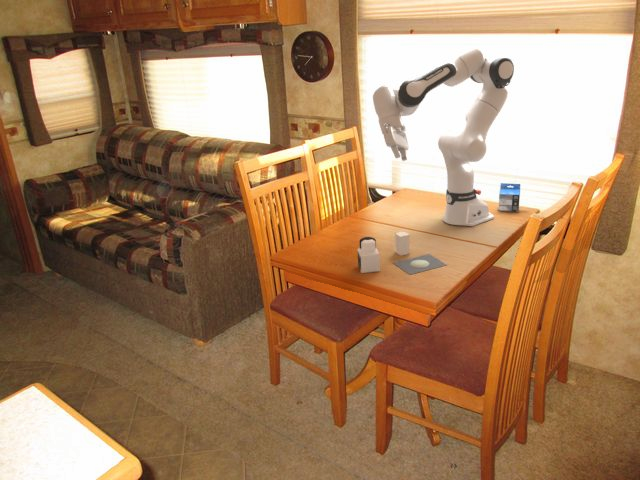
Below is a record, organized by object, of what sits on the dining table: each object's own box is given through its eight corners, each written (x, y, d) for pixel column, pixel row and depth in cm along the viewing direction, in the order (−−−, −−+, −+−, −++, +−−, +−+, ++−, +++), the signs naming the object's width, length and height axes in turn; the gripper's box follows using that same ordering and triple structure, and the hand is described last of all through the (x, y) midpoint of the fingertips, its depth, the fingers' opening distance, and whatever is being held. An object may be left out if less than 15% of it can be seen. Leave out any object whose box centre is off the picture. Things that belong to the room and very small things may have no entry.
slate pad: (429, 254, 205) (429, 253, 205) (447, 265, 195) (447, 264, 195) (393, 263, 200) (393, 262, 200) (409, 274, 190) (409, 274, 190)
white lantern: (357, 265, 200) (356, 236, 196) (376, 263, 201) (375, 234, 196) (360, 273, 194) (359, 243, 189) (380, 271, 194) (379, 241, 190)
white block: (404, 250, 211) (404, 231, 208) (409, 253, 207) (409, 234, 204) (395, 252, 209) (395, 233, 206) (400, 255, 206) (400, 236, 203)
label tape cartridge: (498, 211, 244) (499, 185, 240) (498, 208, 248) (500, 183, 243) (518, 212, 241) (520, 186, 236) (518, 209, 244) (520, 183, 240)
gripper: (391, 118, 199) (401, 153, 198) (406, 127, 217) (415, 159, 216) (376, 124, 202) (386, 159, 200) (392, 133, 220) (401, 164, 219)
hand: (401, 159), depth 208 cm, fingers open, 8 cm apart
